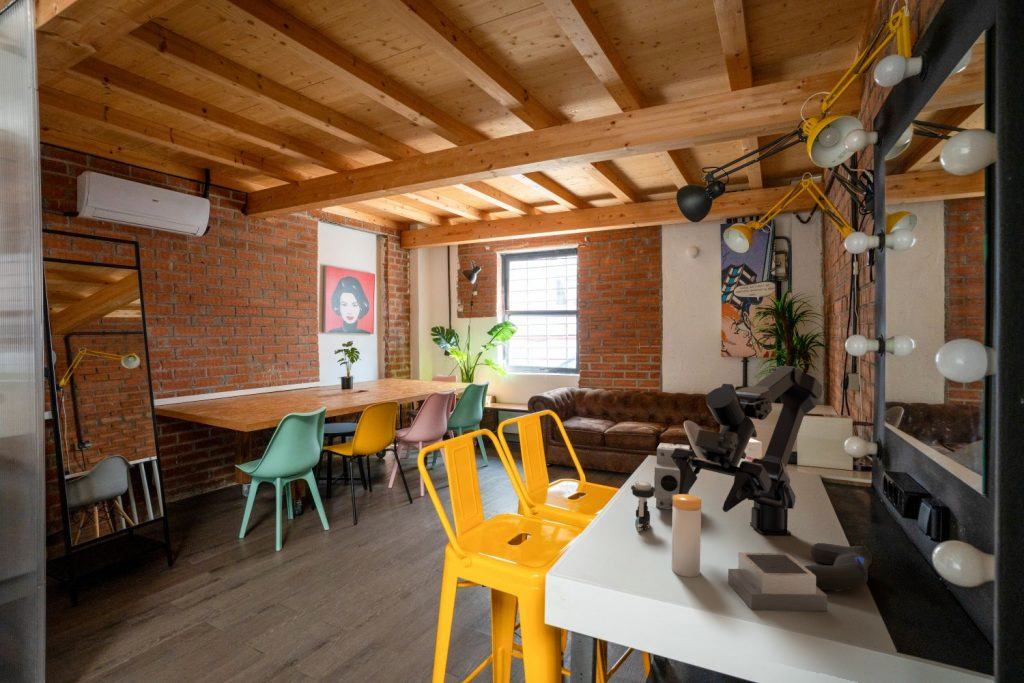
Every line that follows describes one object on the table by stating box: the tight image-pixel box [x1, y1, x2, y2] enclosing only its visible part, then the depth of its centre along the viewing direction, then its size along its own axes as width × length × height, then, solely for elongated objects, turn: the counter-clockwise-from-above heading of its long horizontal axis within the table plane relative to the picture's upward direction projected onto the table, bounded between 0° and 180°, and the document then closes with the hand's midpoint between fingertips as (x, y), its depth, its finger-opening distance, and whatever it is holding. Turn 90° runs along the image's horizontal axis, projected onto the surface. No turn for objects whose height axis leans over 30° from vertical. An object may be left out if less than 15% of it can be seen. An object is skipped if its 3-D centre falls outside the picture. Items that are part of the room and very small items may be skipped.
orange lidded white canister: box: [671, 494, 702, 578], centre depth 96 cm, size 5×5×14 cm
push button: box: [630, 480, 655, 532], centre depth 117 cm, size 7×5×10 cm
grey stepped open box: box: [727, 552, 828, 612], centre depth 86 cm, size 12×9×6 cm
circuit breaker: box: [653, 442, 691, 510], centre depth 130 cm, size 8×14×15 cm, turn 158°
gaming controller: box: [803, 541, 873, 591], centre depth 93 cm, size 17×6×10 cm
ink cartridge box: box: [737, 437, 763, 467], centre depth 161 cm, size 9×5×15 cm, turn 5°
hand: (701, 504), depth 99 cm, fingers open, 9 cm apart
